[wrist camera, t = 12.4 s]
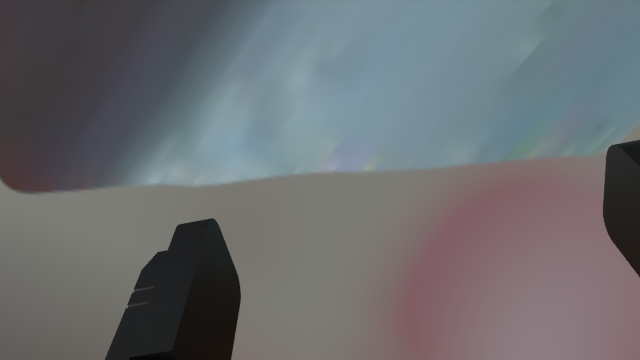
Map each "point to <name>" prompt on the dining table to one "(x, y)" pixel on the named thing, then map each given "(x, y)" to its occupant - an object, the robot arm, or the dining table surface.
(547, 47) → the dining table surface
